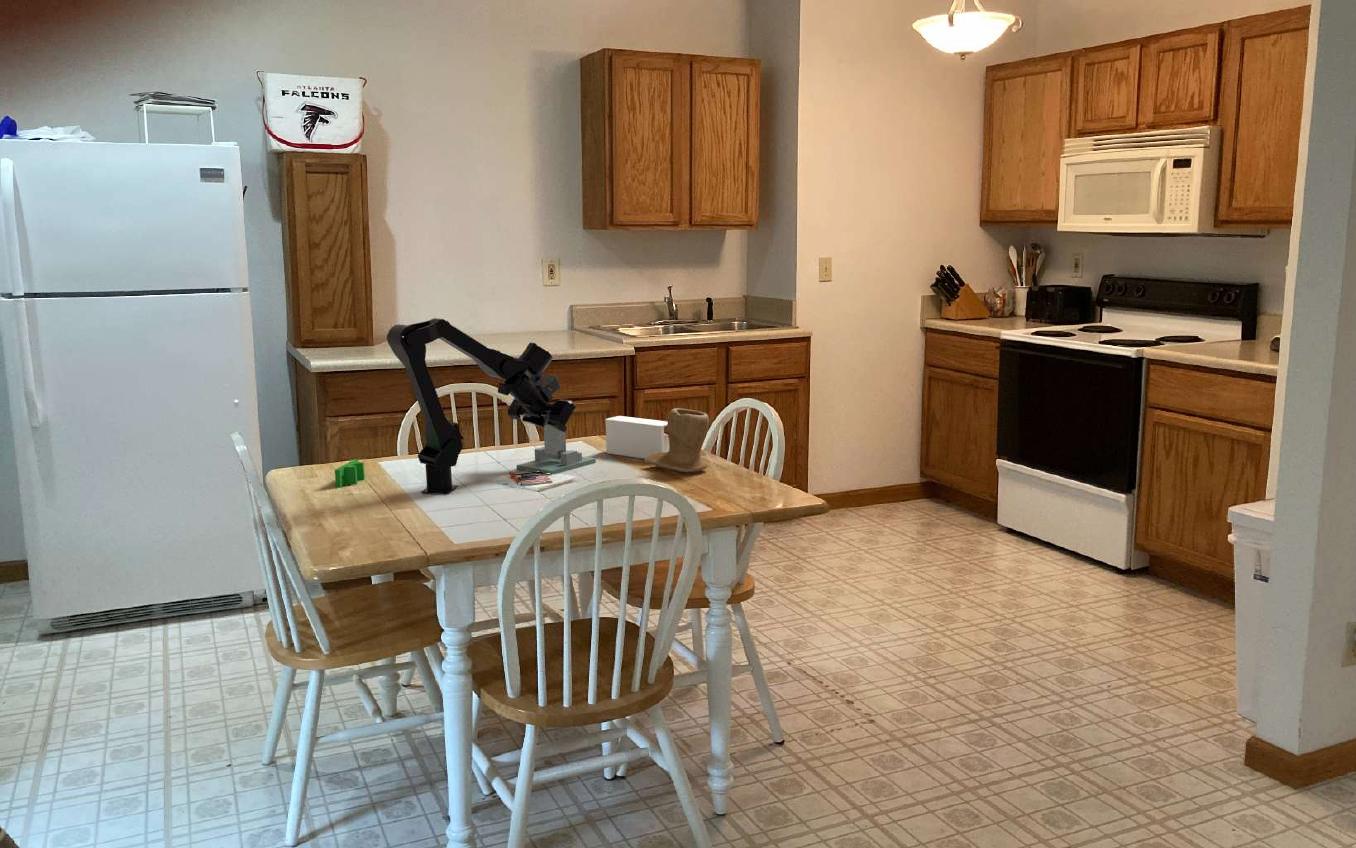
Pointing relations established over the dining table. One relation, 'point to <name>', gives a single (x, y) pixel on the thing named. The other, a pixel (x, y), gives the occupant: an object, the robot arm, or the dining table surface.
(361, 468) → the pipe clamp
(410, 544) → the dining table surface
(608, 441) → the white rectangular box
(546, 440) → the bar
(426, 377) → the robot arm
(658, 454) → the fuzzy boot
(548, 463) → the socket plate
